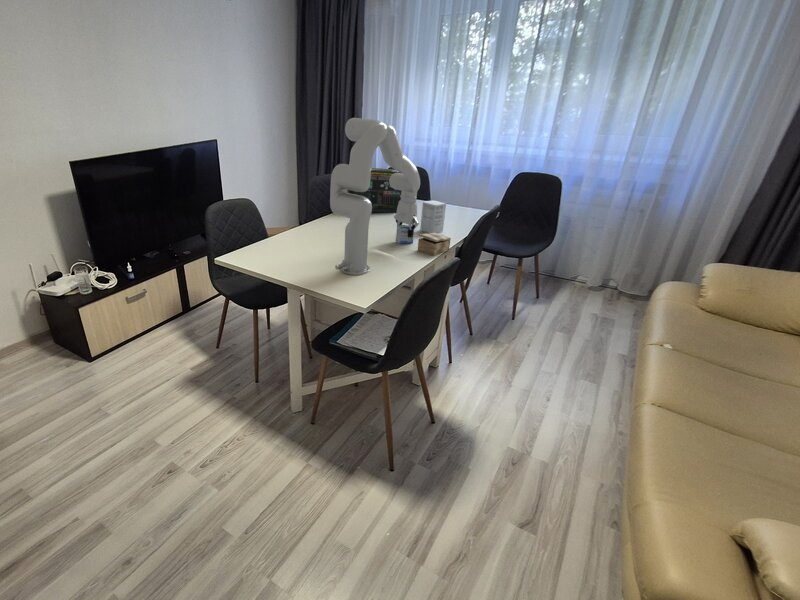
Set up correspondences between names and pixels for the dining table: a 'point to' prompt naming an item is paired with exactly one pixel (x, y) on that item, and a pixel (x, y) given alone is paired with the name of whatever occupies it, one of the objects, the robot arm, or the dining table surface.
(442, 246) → the wooden box
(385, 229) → the dining table surface
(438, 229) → the supplement box
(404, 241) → the medicine box
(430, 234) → the lid
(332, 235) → the dining table surface
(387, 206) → the router box
